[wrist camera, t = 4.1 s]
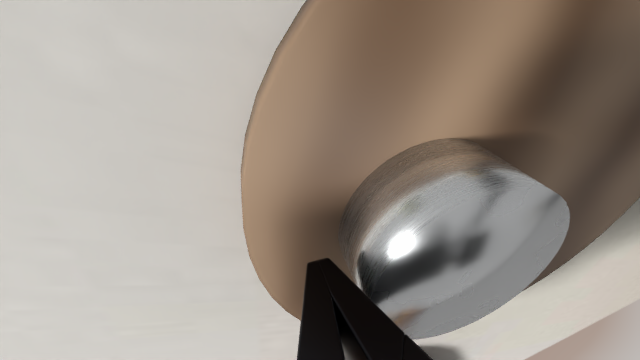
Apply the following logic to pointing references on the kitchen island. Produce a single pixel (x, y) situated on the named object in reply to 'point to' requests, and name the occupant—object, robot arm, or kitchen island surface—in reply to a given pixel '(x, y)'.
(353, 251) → the cover
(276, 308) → the kitchen island surface
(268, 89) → the disc
